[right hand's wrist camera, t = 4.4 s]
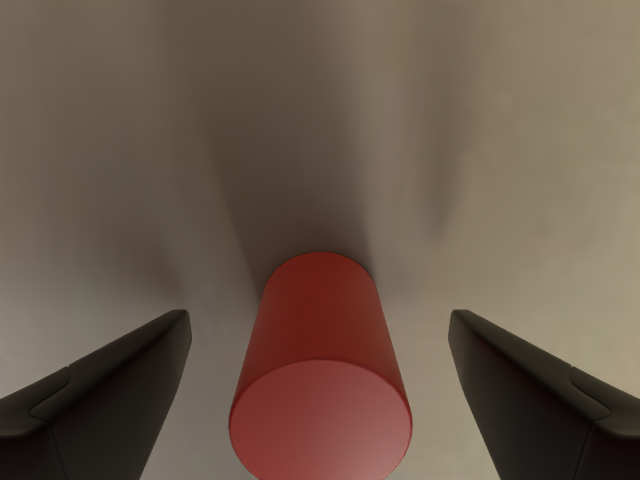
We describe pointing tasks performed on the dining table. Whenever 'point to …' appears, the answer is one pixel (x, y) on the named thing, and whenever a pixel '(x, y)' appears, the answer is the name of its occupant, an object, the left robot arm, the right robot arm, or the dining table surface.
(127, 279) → the dining table surface
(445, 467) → the dining table surface
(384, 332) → the can
